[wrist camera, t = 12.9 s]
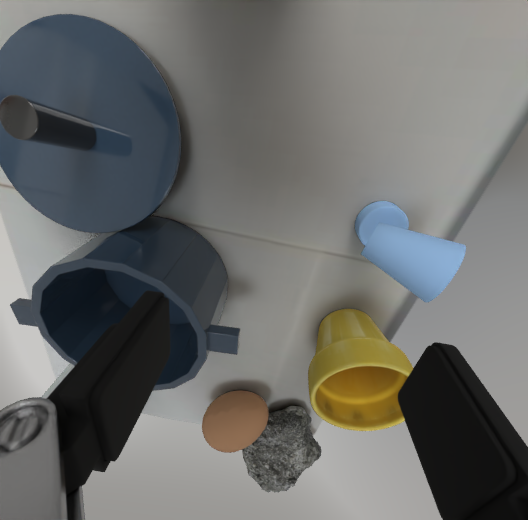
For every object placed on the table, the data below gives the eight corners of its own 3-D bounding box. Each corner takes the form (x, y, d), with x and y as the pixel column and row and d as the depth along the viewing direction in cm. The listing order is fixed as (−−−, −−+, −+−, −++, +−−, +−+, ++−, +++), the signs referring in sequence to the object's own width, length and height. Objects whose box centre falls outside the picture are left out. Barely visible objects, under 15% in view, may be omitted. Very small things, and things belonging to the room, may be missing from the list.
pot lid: (-19, 15, 21) (-148, -58, 15) (184, 29, 21) (141, -41, 14) (15, 222, 26) (-73, 234, 19) (183, 239, 25) (149, 257, 19)
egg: (220, 466, 39) (282, 448, 36) (184, 450, 36) (249, 428, 32) (225, 412, 46) (278, 393, 42) (194, 394, 42) (250, 371, 39)
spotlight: (428, 212, 25) (362, 189, 25) (500, 266, 17) (400, 233, 16) (400, 255, 28) (339, 235, 27) (449, 321, 19) (361, 294, 19)
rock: (292, 407, 38) (327, 404, 45) (232, 401, 46) (270, 399, 53) (294, 525, 33) (333, 501, 40) (226, 495, 41) (268, 480, 48)
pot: (61, 204, 28) (-33, 243, 20) (255, 228, 28) (241, 279, 20) (93, 314, 36) (35, 375, 28) (246, 335, 36) (232, 403, 27)
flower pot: (392, 290, 30) (432, 361, 22) (388, 353, 35) (419, 432, 26) (300, 298, 32) (304, 367, 23) (309, 358, 37) (314, 432, 28)
